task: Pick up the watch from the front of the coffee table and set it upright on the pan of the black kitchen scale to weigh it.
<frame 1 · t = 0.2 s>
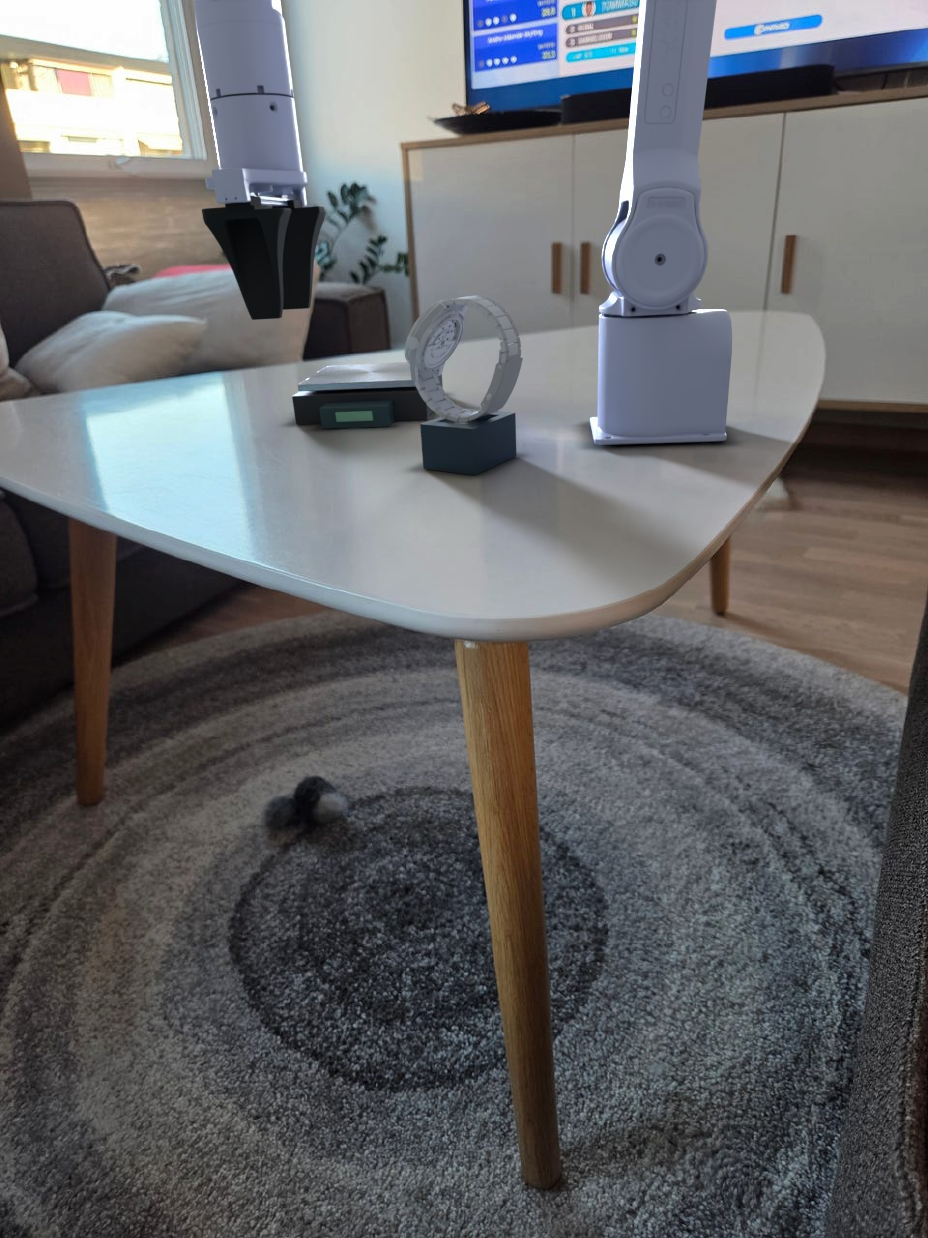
hand: (282, 313, 61), 10 cm above the table, tool pointing down, fingers open, 7 cm apart
scale pan: (370, 375, 77), point 3 cm above the table, slide at 0.0 cm
watch: (469, 464, 58), on the table
scale: (374, 408, 78), on the table
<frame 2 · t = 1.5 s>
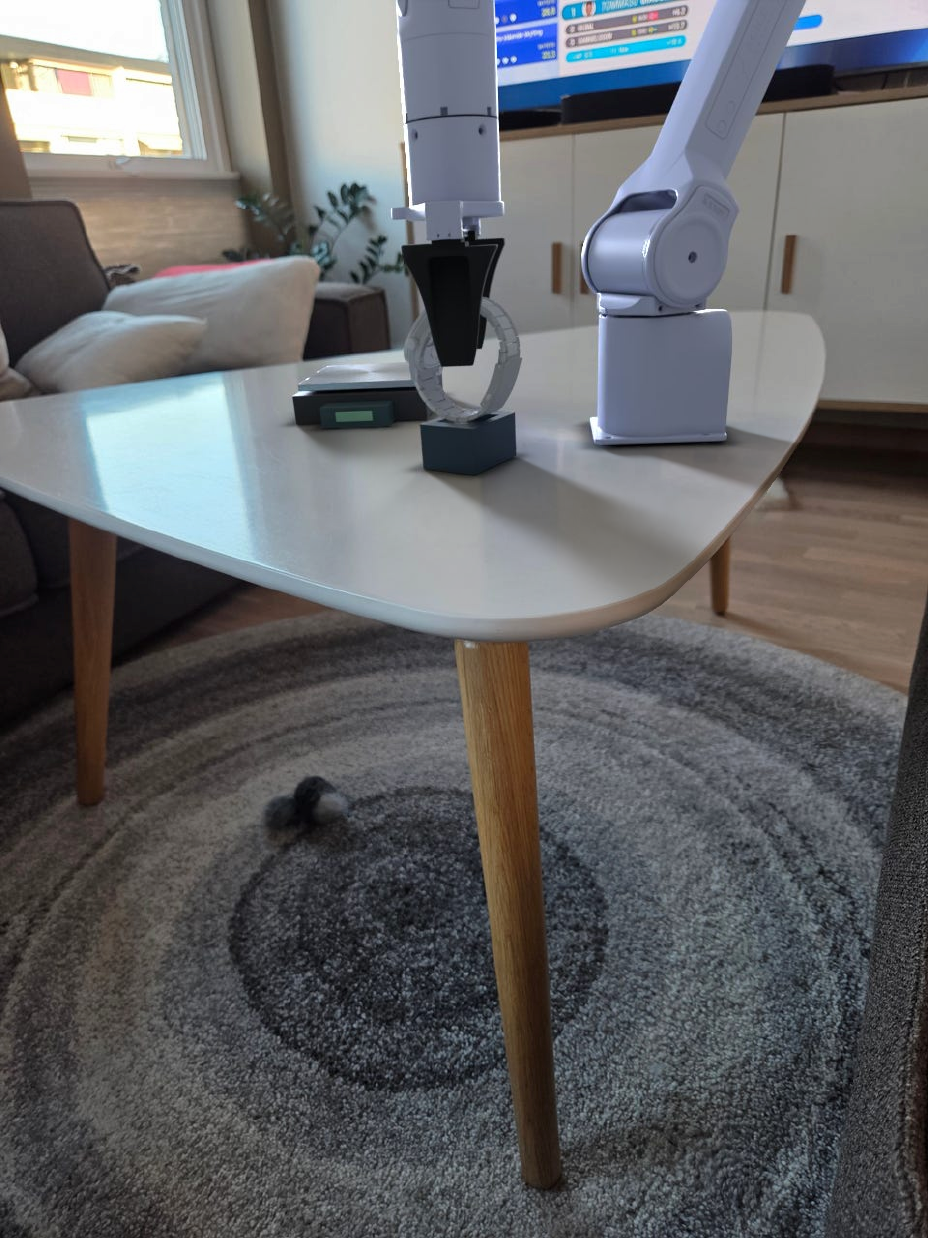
hand: (463, 356, 55), 7 cm above the table, tool pointing down, fingers open, 7 cm apart
nothing on the table moved.
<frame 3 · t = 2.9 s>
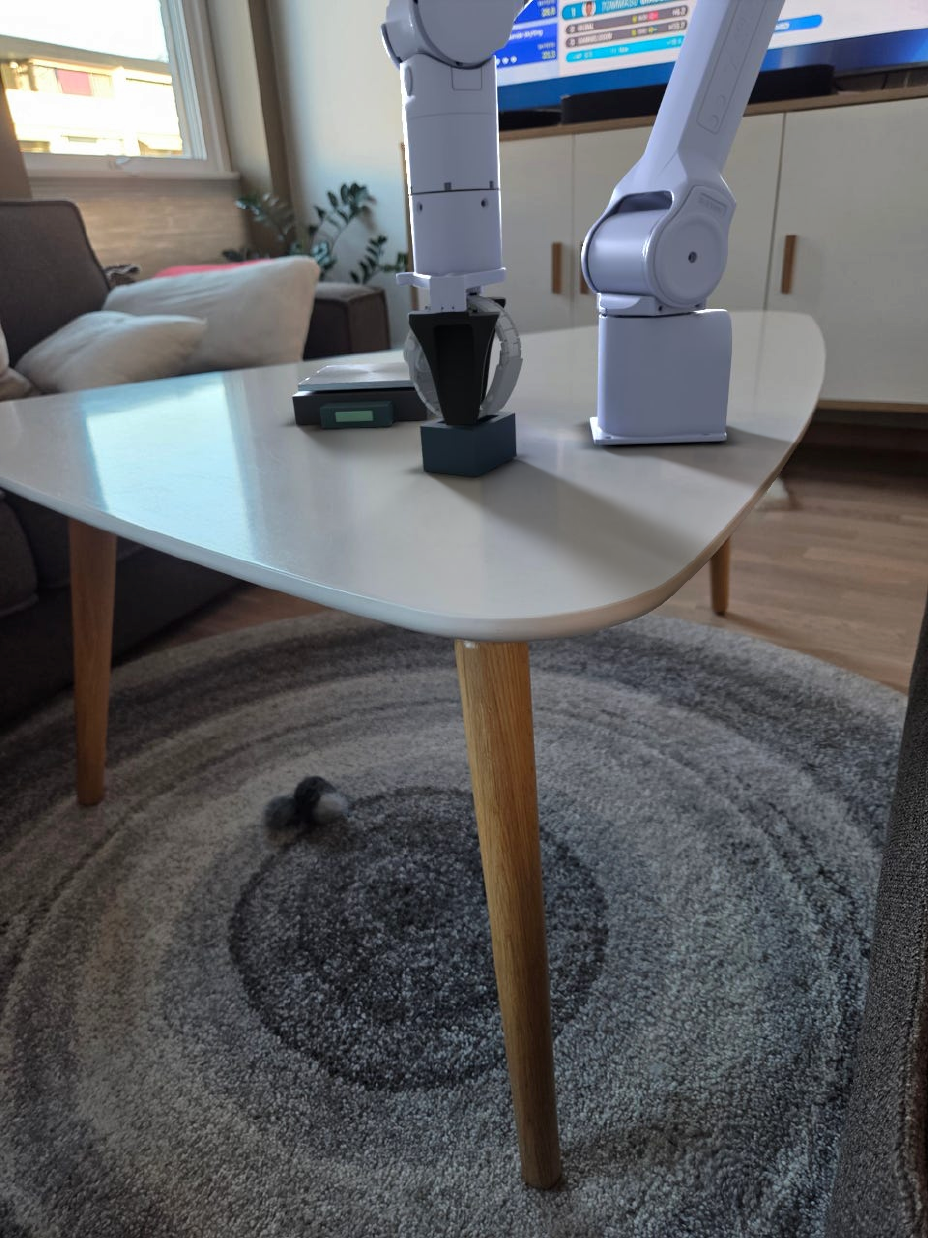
hand: (465, 413, 57), 3 cm above the table, tool pointing down, fingers closed on watch, 6 cm apart
watch: (469, 465, 58), on the table, touching gripper
everything else where it was.
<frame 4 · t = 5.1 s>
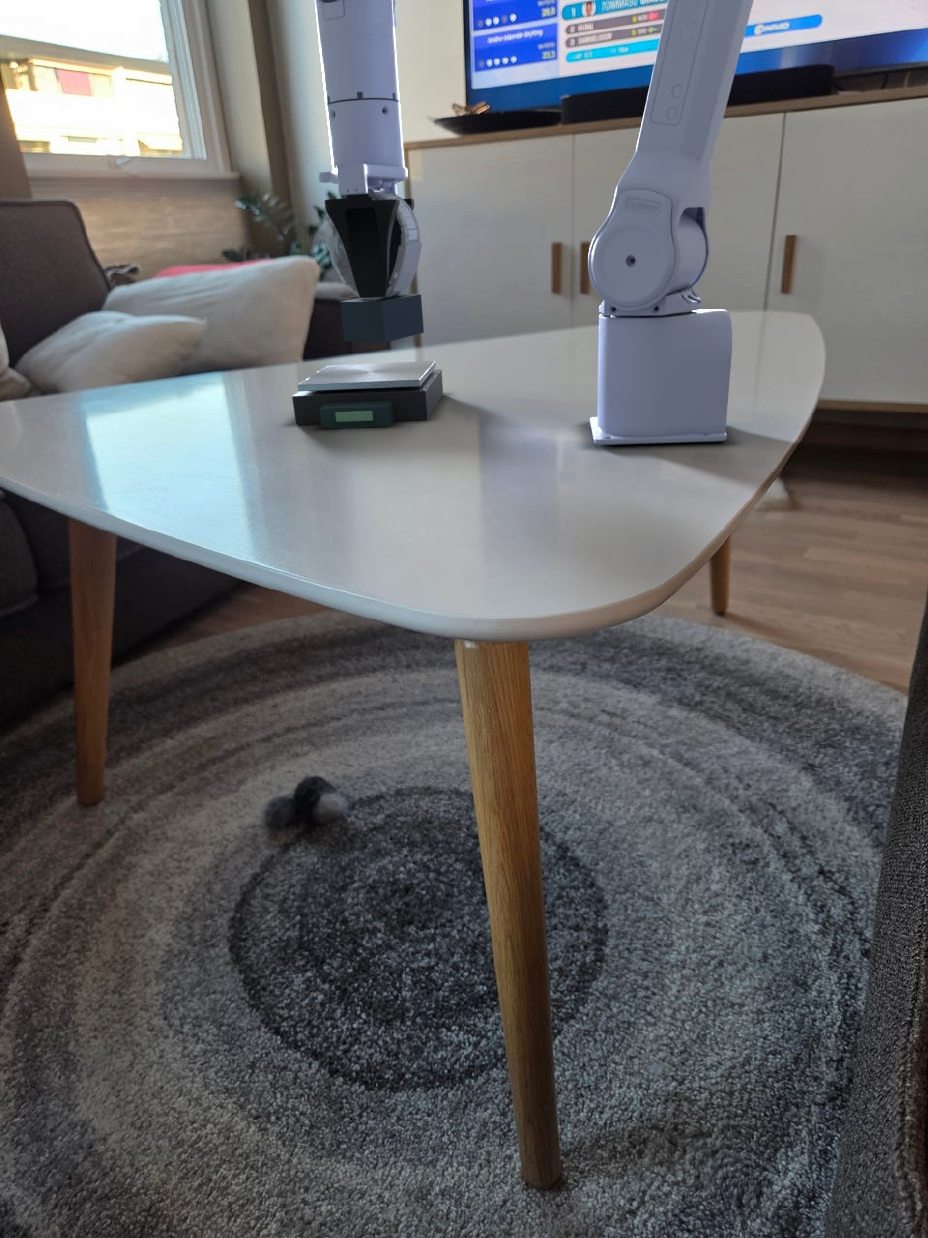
hand: (380, 294, 69), 10 cm above the table, tool pointing down, fingers closed on watch, 6 cm apart
watch: (383, 339, 70), point 7 cm above the table, touching gripper
everything else where it was.
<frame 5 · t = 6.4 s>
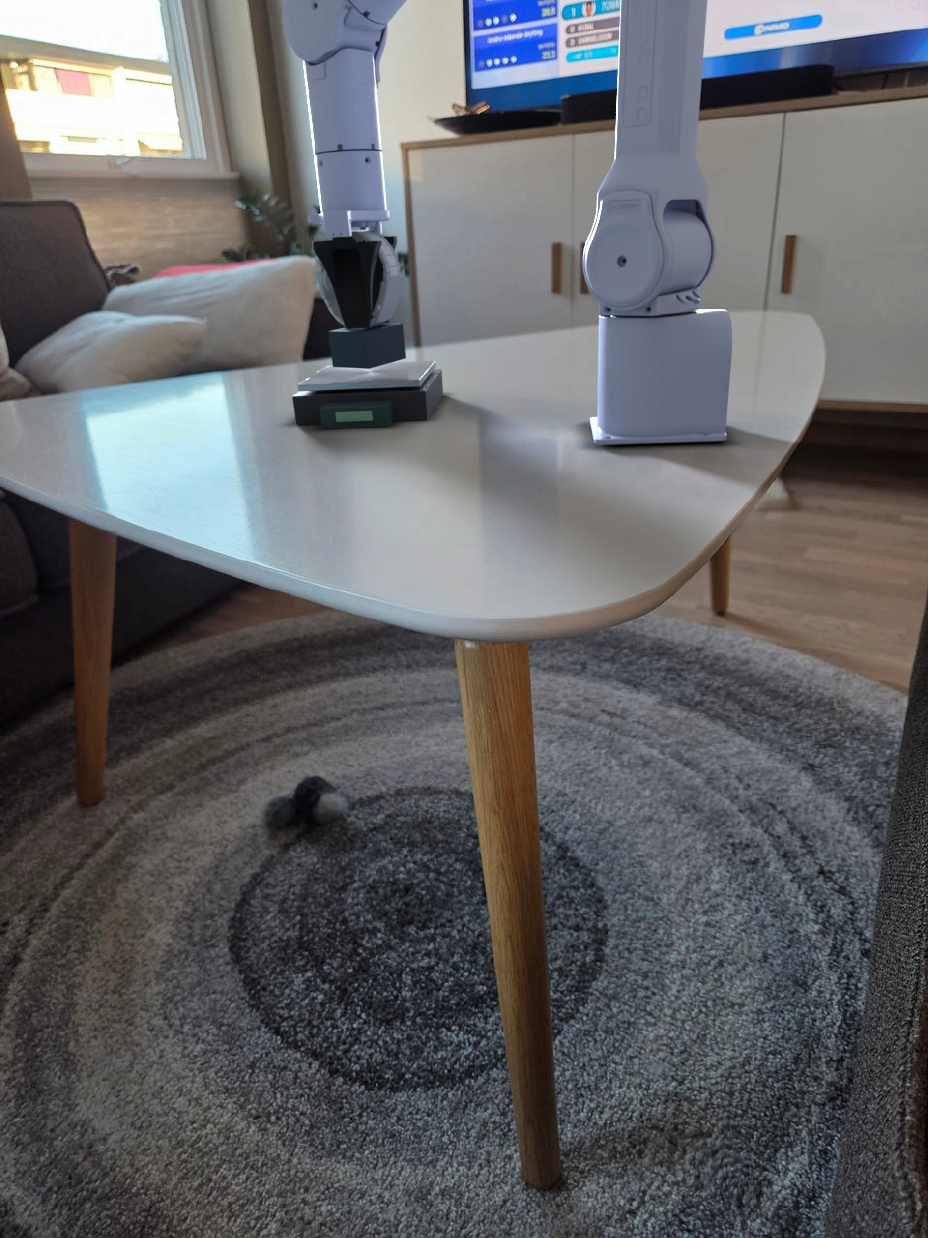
hand: (365, 323, 75), 8 cm above the table, tool pointing down, fingers closed on watch, 6 cm apart
watch: (369, 364, 76), point 4 cm above the table, touching gripper
everything else where it was.
when the fingers open (7 cm above the table, at t = 7.3 s): watch stays where it is, resting on scale pan.
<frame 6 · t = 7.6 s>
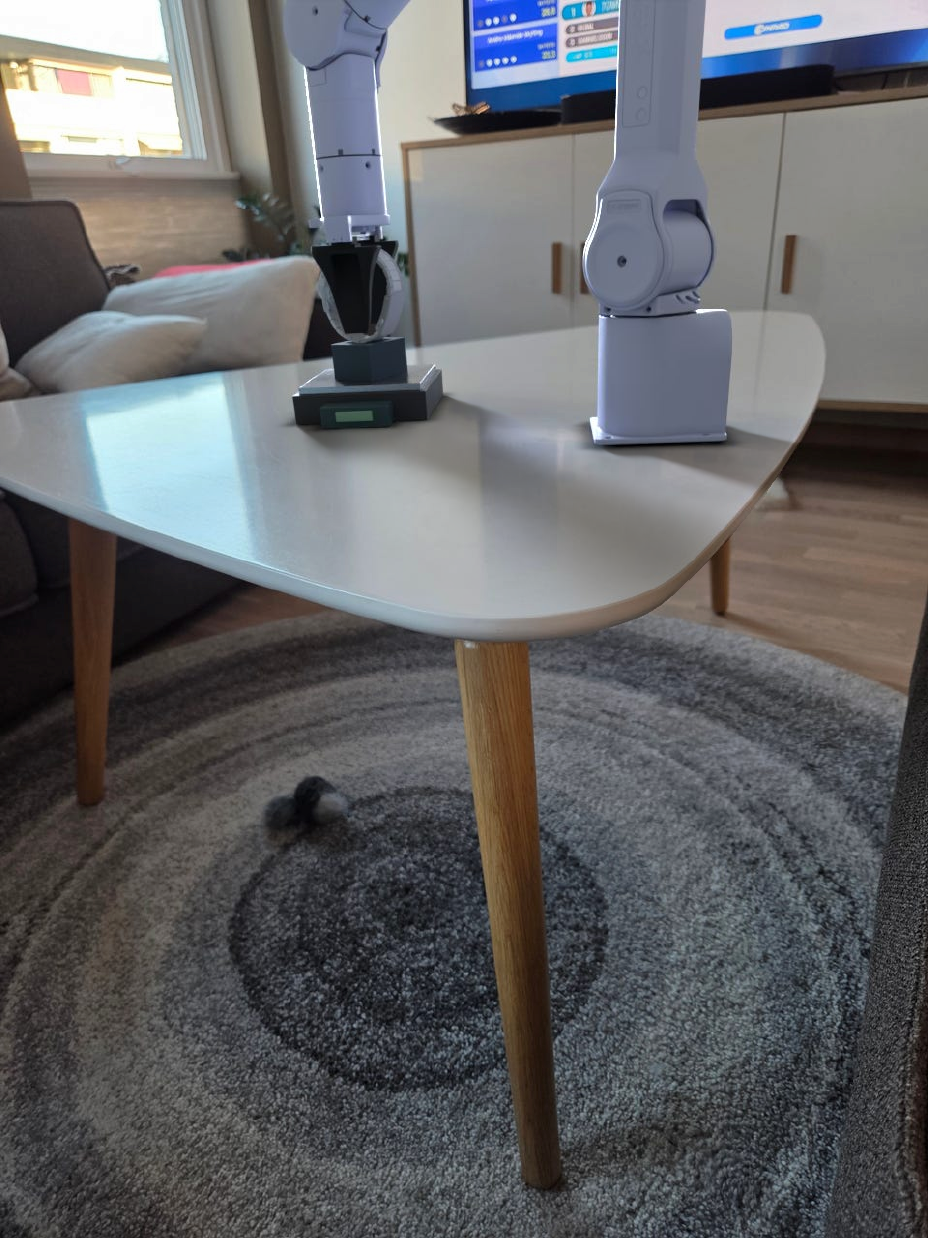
hand: (365, 328, 75), 7 cm above the table, tool pointing down, fingers open, 7 cm apart
scale pan: (370, 378, 77), point 3 cm above the table, slide at -0.3 cm, touching scale, watch
watch: (370, 377, 77), point 3 cm above the table, touching scale pan
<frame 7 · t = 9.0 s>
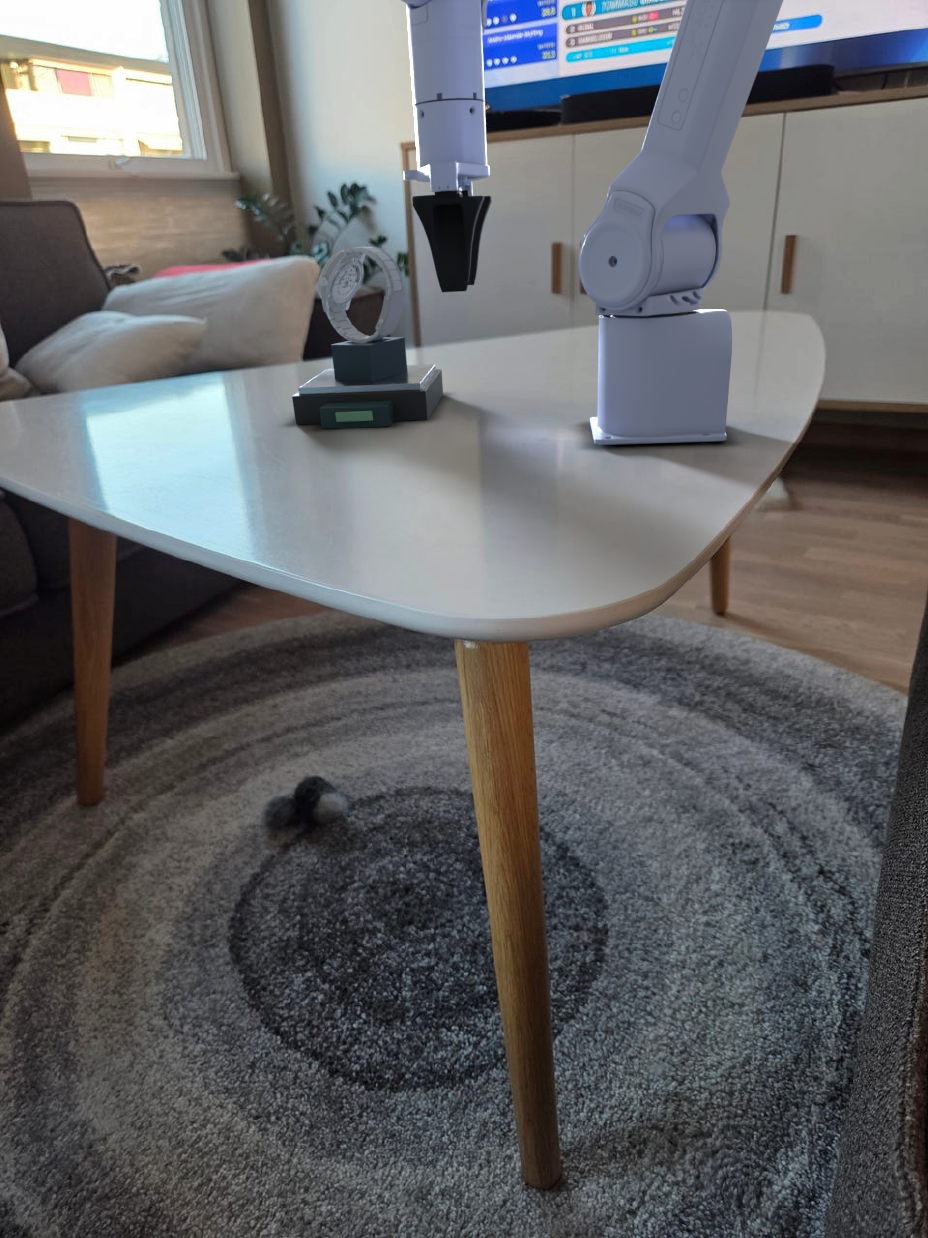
hand: (458, 288, 71), 10 cm above the table, tool pointing down, fingers open, 7 cm apart
nothing on the table moved.
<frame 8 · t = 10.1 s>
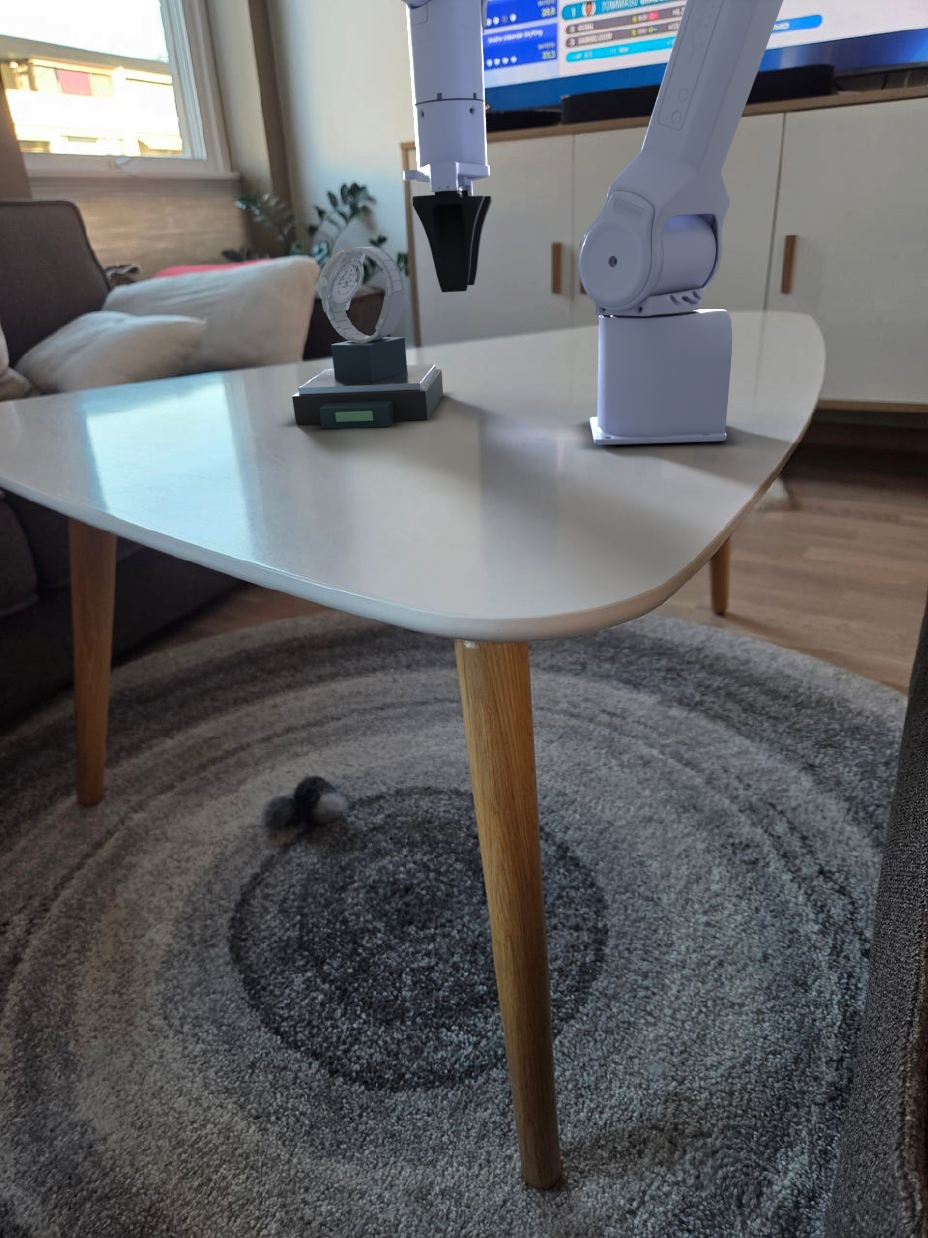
hand: (458, 288, 71), 10 cm above the table, tool pointing down, fingers open, 7 cm apart
nothing on the table moved.
at the end: watch inside the target area on the scale (0.4 cm from its centre), point 2.9 cm above the scale's base; watch tilted 0°; the gripper is holding nothing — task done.
